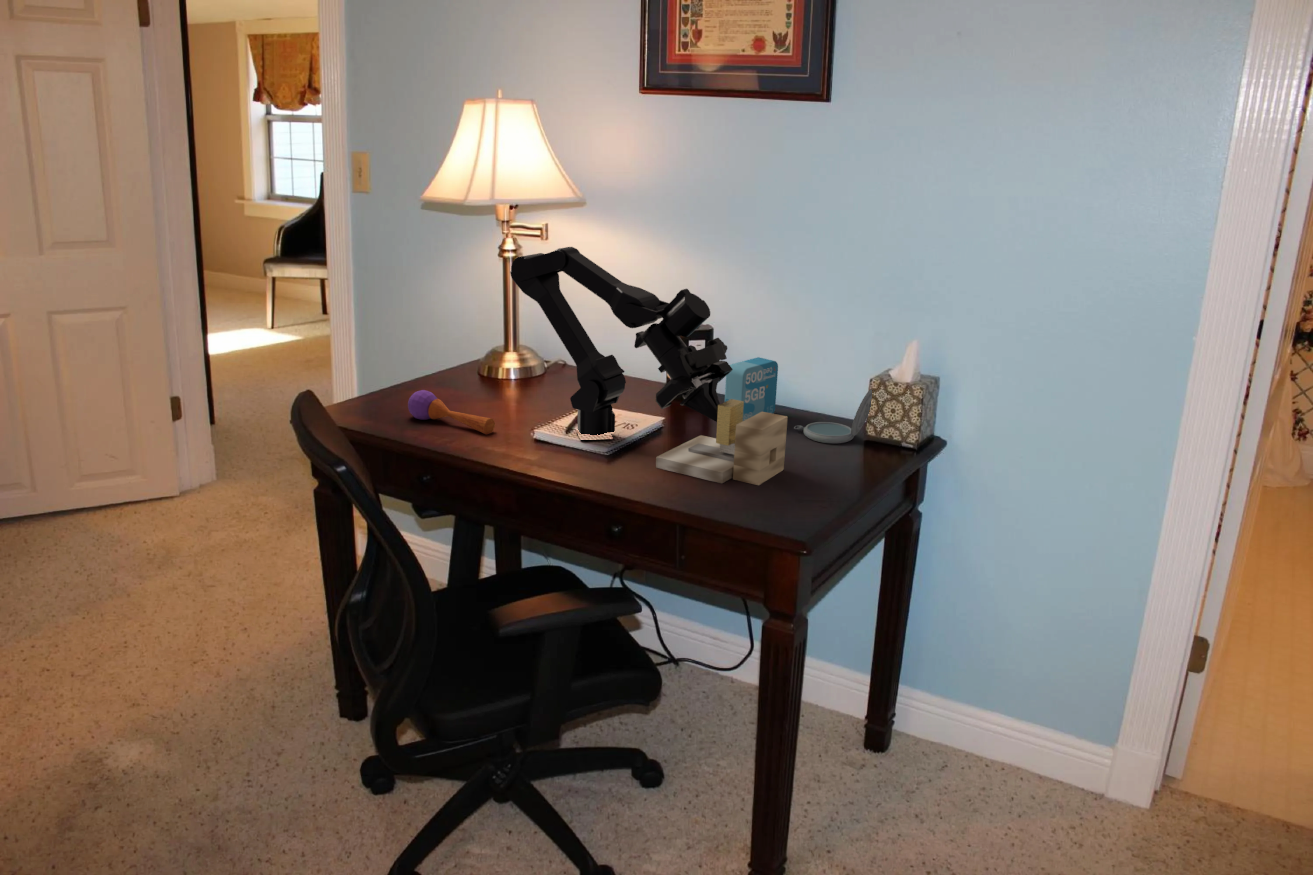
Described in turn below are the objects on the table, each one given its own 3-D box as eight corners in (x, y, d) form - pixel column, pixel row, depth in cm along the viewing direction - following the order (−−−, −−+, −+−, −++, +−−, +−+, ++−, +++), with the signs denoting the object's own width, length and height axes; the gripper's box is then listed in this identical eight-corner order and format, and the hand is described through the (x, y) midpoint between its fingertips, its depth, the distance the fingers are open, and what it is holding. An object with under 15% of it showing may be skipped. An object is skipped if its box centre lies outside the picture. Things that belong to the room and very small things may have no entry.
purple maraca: (478, 419, 202) (400, 393, 211) (480, 446, 205) (403, 420, 214) (498, 406, 207) (420, 382, 216) (500, 433, 210) (424, 408, 219)
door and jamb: (655, 467, 191) (657, 414, 188) (700, 445, 204) (702, 394, 201) (750, 490, 182) (754, 434, 178) (790, 465, 195) (794, 412, 191)
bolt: (715, 453, 190) (718, 405, 187) (728, 446, 194) (731, 399, 191) (750, 461, 187) (753, 412, 184) (763, 454, 191) (766, 405, 188)
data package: (740, 426, 216) (743, 369, 212) (722, 421, 219) (726, 365, 215) (775, 415, 225) (779, 359, 221) (757, 410, 228) (761, 355, 224)
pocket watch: (864, 396, 201) (789, 384, 207) (858, 450, 204) (785, 437, 211) (879, 384, 209) (807, 373, 216) (874, 437, 213) (803, 424, 219)
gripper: (672, 334, 181) (727, 408, 178) (725, 317, 196) (776, 385, 194) (632, 372, 187) (684, 444, 185) (686, 353, 202) (735, 419, 200)
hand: (722, 421), depth 191 cm, fingers closed, pressing on bolt
